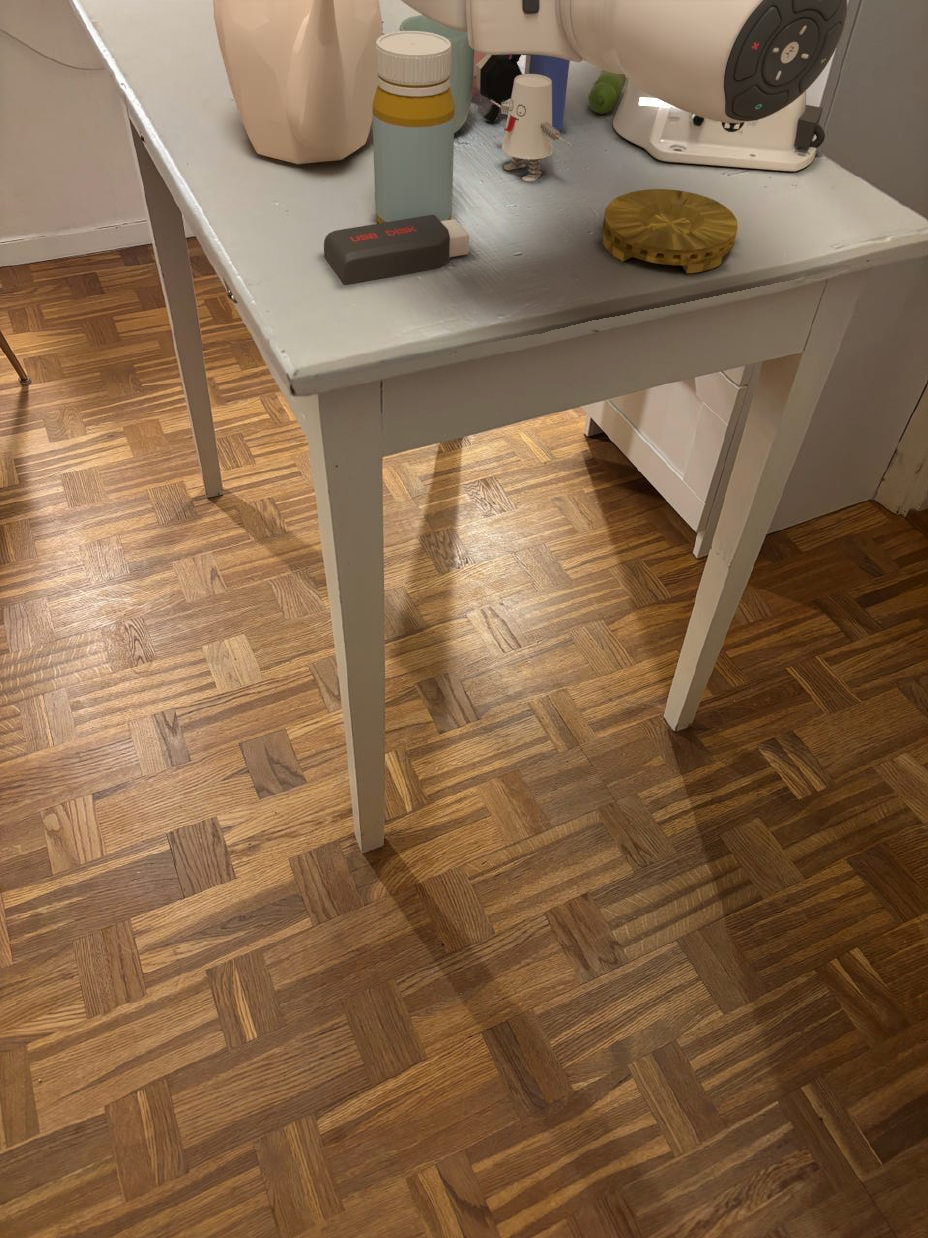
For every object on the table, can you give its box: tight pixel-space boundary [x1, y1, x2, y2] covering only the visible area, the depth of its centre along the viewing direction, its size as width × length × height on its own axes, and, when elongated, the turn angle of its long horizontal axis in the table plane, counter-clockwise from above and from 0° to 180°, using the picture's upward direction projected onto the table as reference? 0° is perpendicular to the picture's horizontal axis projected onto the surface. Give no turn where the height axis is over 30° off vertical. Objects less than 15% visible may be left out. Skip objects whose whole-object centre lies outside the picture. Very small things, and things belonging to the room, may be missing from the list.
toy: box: [471, 51, 523, 124], centre depth 107 cm, size 8×7×15 cm
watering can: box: [212, 0, 384, 165], centre depth 91 cm, size 16×27×19 cm, turn 19°
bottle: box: [372, 30, 455, 224], centre depth 82 cm, size 7×7×15 cm
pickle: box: [587, 69, 627, 115], centre depth 109 cm, size 10×3×3 cm, turn 163°
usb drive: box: [323, 215, 470, 285], centre depth 82 cm, size 5×12×3 cm, turn 114°
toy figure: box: [491, 73, 572, 182], centre depth 94 cm, size 12×6×9 cm, turn 36°
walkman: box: [524, 55, 571, 131], centre depth 102 cm, size 8×3×12 cm, turn 11°
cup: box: [398, 14, 475, 134], centre depth 100 cm, size 8×8×10 cm
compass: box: [602, 188, 739, 274], centre depth 87 cm, size 12×12×2 cm
